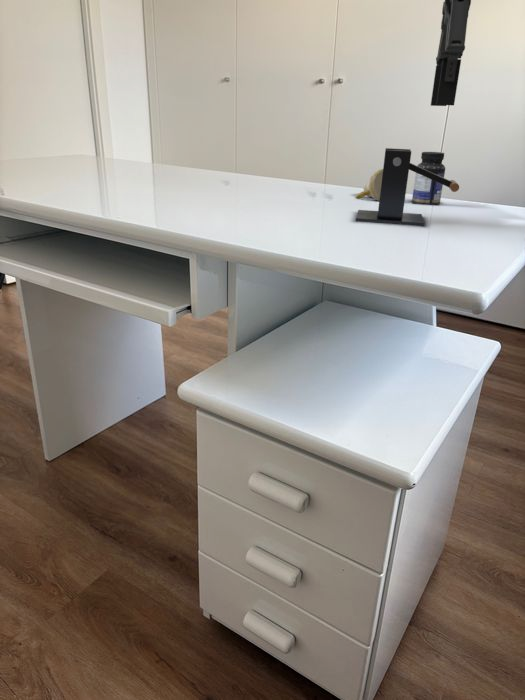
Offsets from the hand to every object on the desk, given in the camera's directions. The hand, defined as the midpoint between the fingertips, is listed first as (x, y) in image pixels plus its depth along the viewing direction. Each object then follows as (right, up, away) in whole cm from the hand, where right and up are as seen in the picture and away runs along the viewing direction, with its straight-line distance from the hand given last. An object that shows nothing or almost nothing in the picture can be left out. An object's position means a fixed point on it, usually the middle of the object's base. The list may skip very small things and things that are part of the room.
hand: (441, 105), depth 92 cm
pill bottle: (+6, -10, +28) cm, 30 cm away
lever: (-3, -11, +3) cm, 12 cm away
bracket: (-7, -18, +8) cm, 21 cm away
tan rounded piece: (-5, -7, +32) cm, 33 cm away
